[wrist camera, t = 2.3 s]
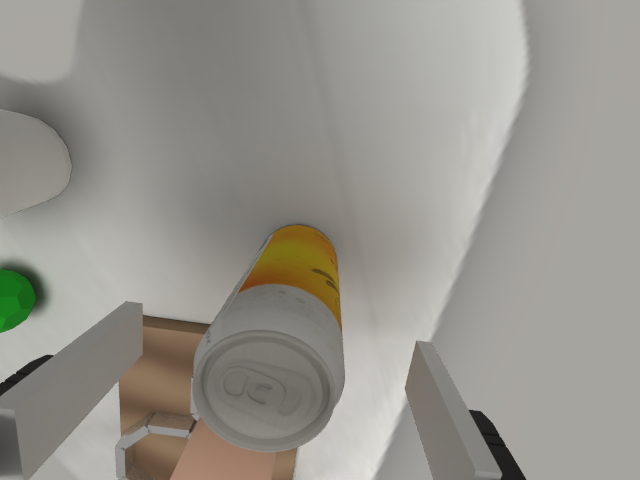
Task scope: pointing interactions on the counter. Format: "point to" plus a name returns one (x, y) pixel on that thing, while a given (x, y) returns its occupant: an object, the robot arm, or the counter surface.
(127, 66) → the counter surface
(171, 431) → the socket collars
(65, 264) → the counter surface
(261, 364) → the beer can
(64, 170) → the foam cup
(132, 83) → the counter surface
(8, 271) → the polyhedron
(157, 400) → the pin board
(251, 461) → the pin
